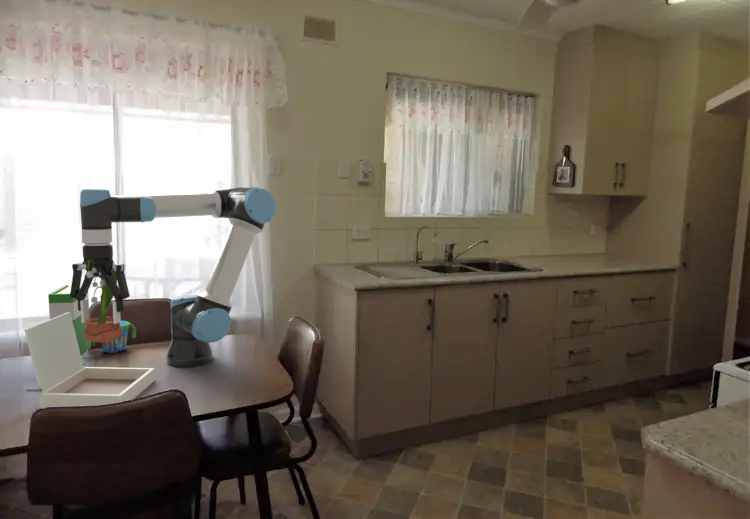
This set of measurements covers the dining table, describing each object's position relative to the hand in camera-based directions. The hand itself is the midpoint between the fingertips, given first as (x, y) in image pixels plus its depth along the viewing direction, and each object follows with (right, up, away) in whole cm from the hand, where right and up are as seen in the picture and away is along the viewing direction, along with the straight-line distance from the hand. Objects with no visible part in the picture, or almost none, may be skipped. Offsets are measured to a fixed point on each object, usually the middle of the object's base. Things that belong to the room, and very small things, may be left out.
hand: (101, 322), depth 149 cm
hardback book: (-29, -16, +36) cm, 50 cm away
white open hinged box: (-3, -21, +3) cm, 22 cm away
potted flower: (0, -5, +1) cm, 6 cm away
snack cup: (-17, -16, +42) cm, 49 cm away
